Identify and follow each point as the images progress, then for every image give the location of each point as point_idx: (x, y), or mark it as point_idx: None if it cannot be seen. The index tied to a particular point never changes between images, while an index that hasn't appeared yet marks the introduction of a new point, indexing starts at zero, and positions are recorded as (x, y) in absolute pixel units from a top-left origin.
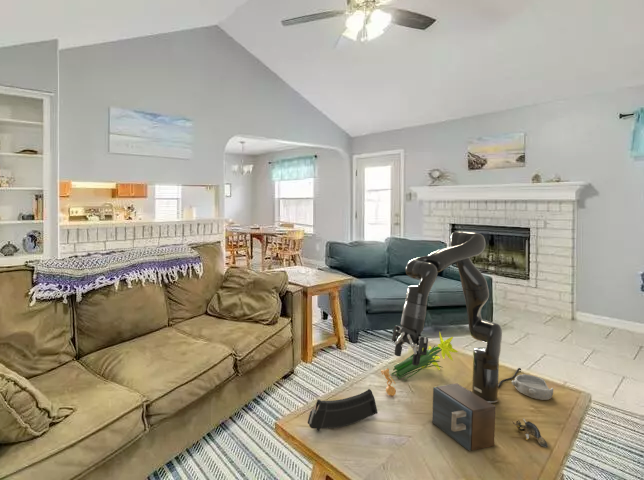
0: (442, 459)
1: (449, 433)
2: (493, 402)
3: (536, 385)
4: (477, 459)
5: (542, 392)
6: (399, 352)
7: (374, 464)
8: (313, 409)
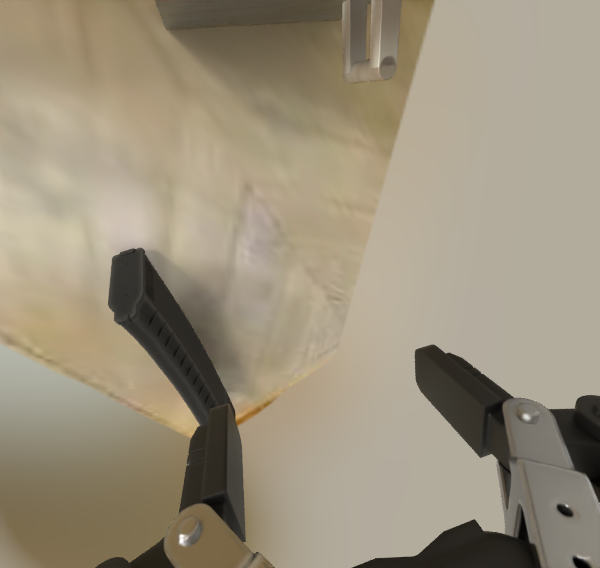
0: (347, 151)
1: (260, 22)
2: None
3: None
4: None
5: None
6: (234, 443)
7: (326, 312)
8: None
